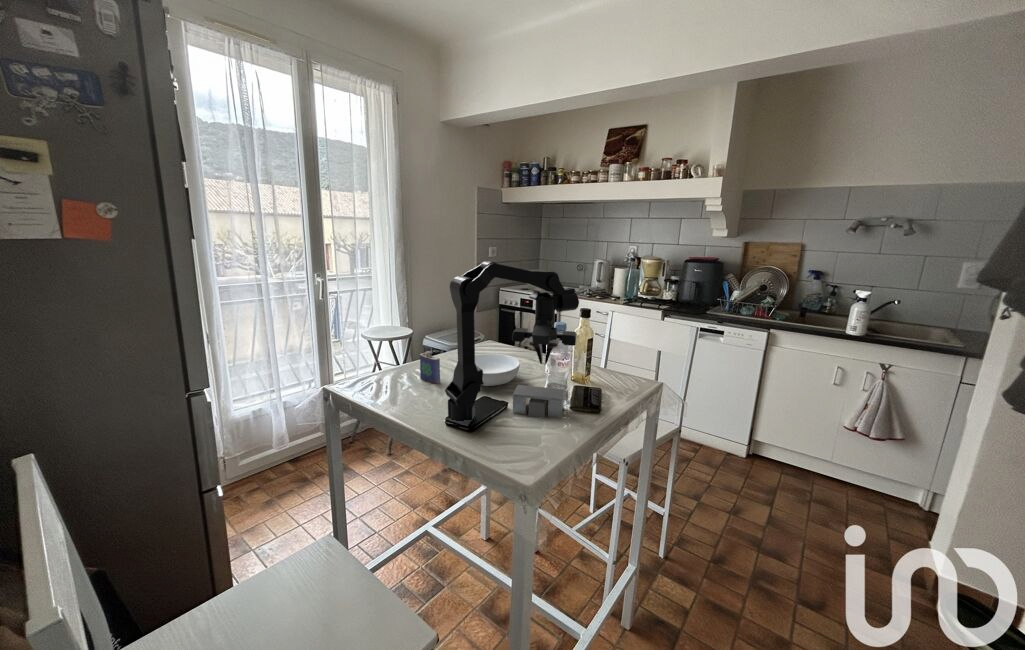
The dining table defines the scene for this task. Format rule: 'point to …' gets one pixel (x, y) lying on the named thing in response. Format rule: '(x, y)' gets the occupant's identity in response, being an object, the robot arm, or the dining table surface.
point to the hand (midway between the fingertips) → (543, 363)
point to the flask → (429, 368)
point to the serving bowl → (497, 368)
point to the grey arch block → (527, 392)
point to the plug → (537, 408)
